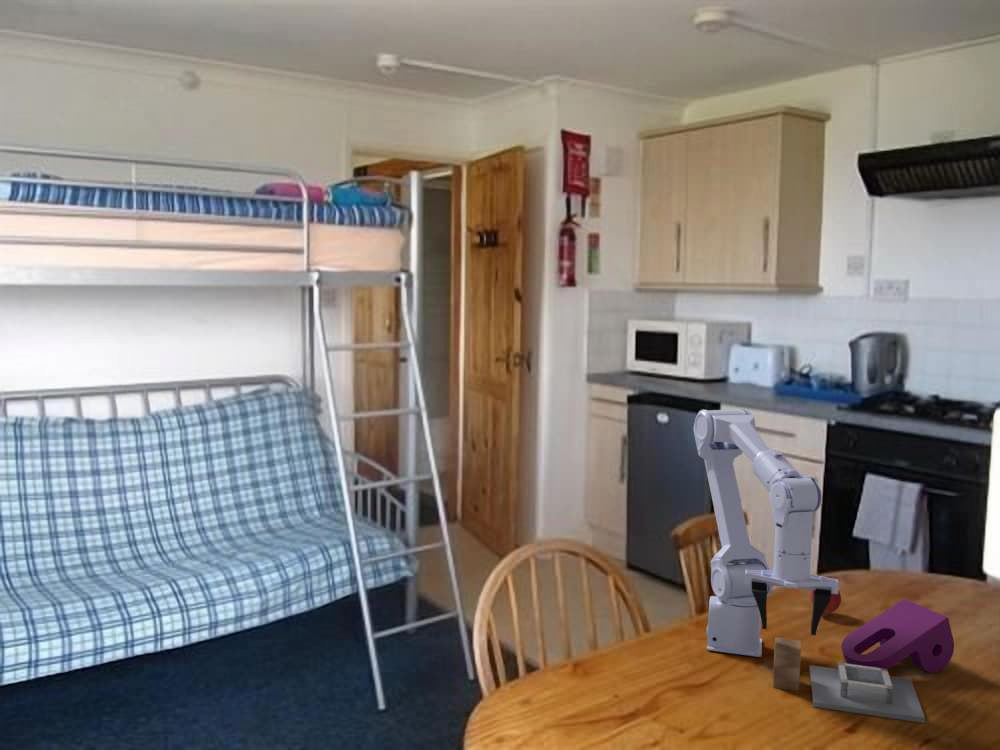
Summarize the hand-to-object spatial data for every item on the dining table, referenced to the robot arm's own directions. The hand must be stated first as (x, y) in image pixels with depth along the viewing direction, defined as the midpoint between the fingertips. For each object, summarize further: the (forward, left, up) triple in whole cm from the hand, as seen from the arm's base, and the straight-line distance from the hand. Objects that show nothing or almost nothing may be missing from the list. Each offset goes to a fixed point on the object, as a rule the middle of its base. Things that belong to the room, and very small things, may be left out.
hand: (788, 629), depth 143 cm
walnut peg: (0, 0, -9) cm, 9 cm away
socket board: (+12, 0, -9) cm, 15 cm away
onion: (+8, +35, -10) cm, 37 cm away
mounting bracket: (+17, +13, -9) cm, 24 cm away
